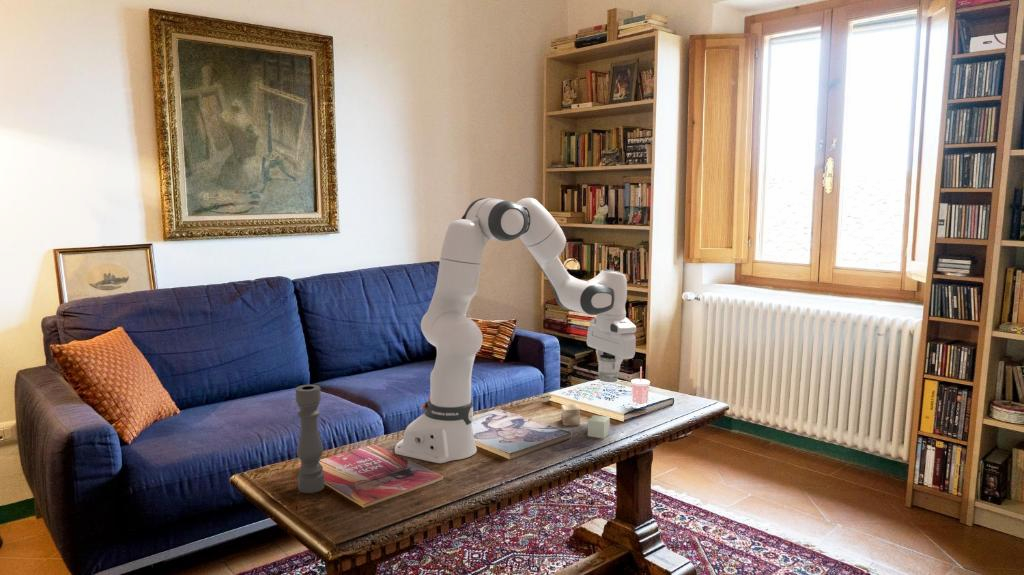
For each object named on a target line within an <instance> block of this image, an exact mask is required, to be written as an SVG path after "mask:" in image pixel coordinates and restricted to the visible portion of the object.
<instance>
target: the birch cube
mask: <svg viewBox="0 0 1024 575" xmlns="http://www.w3.org/2000/svg"><path fill="white" fill-rule="evenodd" d="M560 415H561V416H560V417H561V422H562V425H563V426H580V425H581V409H580V406H579V405H578V404H577V403H575V404H561V414H560Z"/></svg>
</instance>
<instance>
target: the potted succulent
mask: <svg viewBox="0 0 1024 575" xmlns="http://www.w3.org/2000/svg"><path fill="white" fill-rule="evenodd" d="M615 361H616V359H615V356H614V355H611V354H609V353H603V354H602V355H600V356H599V364H598V370H597V374H598V375H597V376H598V381H601V382H603V383H616V382H618V378H619V376H620V375H619V371H620V370H614V369H613V364H615Z"/></svg>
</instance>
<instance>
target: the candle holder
mask: <svg viewBox="0 0 1024 575" xmlns="http://www.w3.org/2000/svg"><path fill="white" fill-rule="evenodd" d="M321 396H322V394H321V386H320V385H317V384H303V385H298V386H296V387H295V403H296V405H297V406H298V409H299V411H298V412H297V417H298V418H299V419H300V433H299V438H298V443H297V444H298V445H297V448H296V454H297V457H298V458H299V460H300V463H301V465H300V467H299V468H298V472H299V473H298V475H297V489H298V491H299V492H301V493H304V494H312V493H314V494H315V493H318V492H320V491H323V489H324V488H325V486H326V485H325V472H324V471H323V470H324V466H322V464H321V463H320V462H321V458H322V455H323V454H324V446H323V443H322V439H321V436H320V432H319V426H318V423H319V422H318V418H319V416H320V415H321V411H320V409H318V408H319V405H320V403H321Z"/></svg>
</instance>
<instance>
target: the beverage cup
mask: <svg viewBox="0 0 1024 575" xmlns="http://www.w3.org/2000/svg"><path fill="white" fill-rule="evenodd" d="M642 370H643V367H642V366H640V370H639V378H633V379H631V381H630V383H631V395H632V396H631V399H632V400H631V402H632V401H633V402H634V403H639V404H644V403H647V404H648V399H649V398H648V397H649V390H650V389H649V388H650V385H651V381H650V380H648V379H645V378H642V373H643V371H642Z"/></svg>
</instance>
